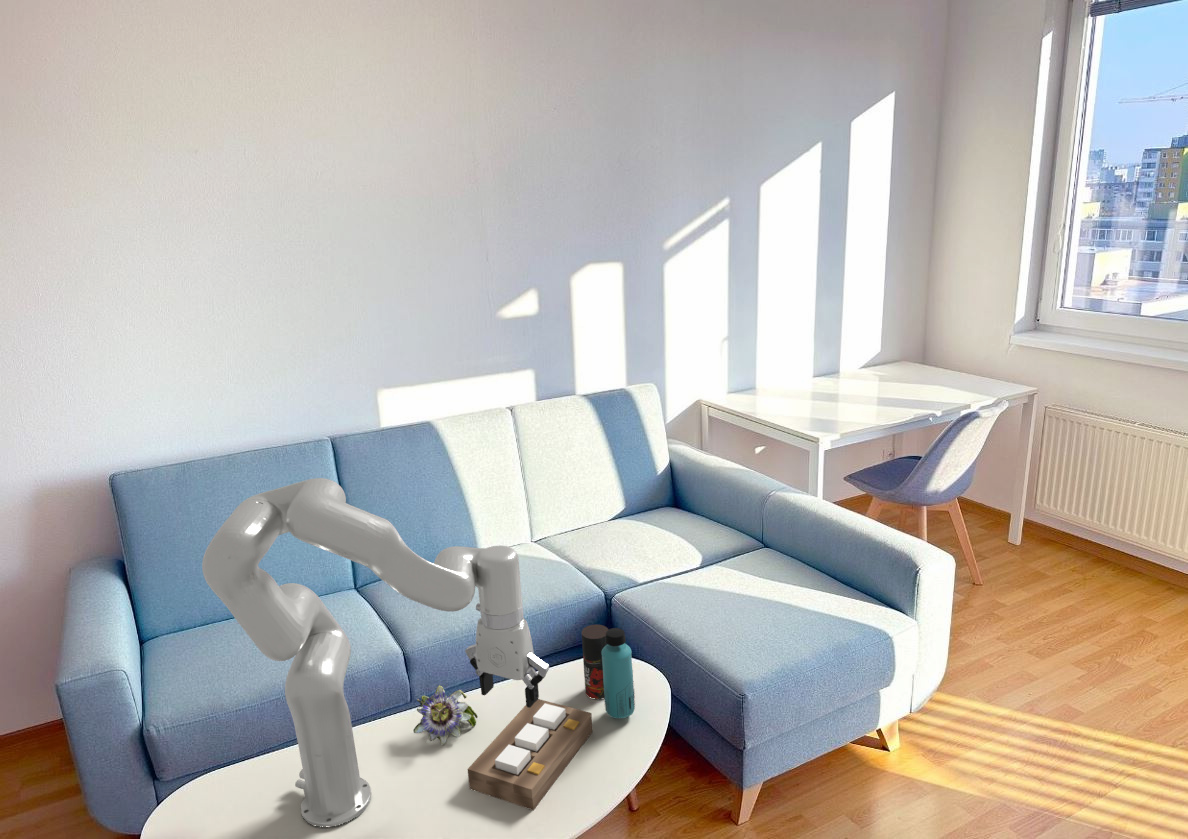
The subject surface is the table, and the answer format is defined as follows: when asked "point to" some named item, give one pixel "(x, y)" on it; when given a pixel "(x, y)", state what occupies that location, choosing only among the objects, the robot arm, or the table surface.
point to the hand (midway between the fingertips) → (509, 697)
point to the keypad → (542, 764)
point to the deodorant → (593, 659)
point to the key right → (549, 716)
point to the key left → (513, 759)
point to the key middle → (531, 737)
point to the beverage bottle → (617, 675)
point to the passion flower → (444, 715)
